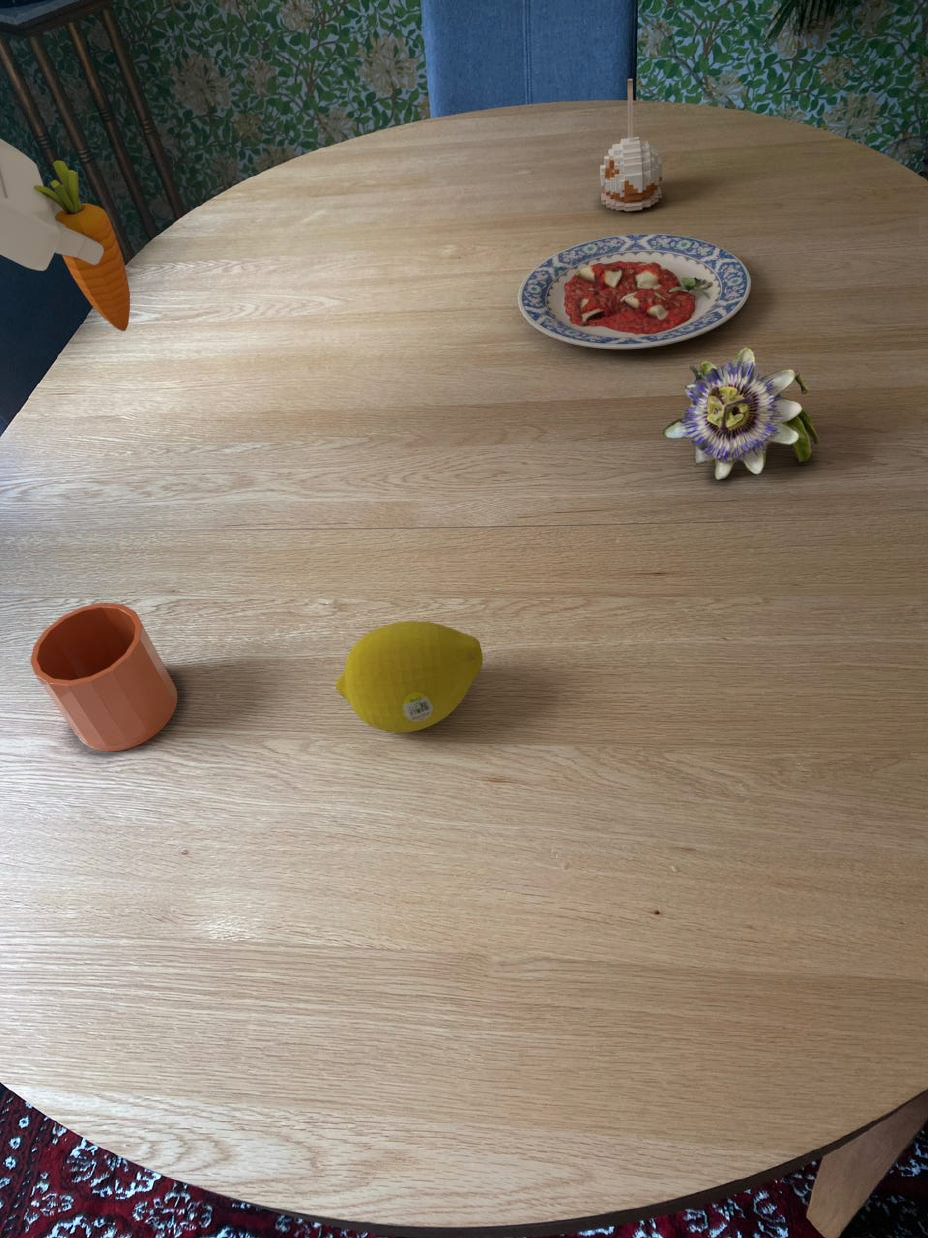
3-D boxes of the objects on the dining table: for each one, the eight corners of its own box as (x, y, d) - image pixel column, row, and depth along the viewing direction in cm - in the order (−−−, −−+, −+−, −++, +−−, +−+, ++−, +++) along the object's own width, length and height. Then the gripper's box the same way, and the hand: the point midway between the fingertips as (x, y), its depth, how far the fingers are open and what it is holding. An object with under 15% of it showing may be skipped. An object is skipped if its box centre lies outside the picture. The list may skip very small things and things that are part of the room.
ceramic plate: (493, 359, 107) (490, 334, 105) (548, 249, 124) (547, 226, 122) (735, 371, 100) (737, 344, 98) (760, 252, 116) (762, 227, 114)
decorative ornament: (599, 192, 133) (596, 72, 123) (657, 186, 132) (659, 64, 122) (603, 217, 128) (599, 94, 117) (664, 211, 127) (665, 86, 116)
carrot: (131, 345, 89) (62, 178, 79) (87, 342, 91) (13, 178, 80) (160, 318, 92) (97, 153, 82) (116, 315, 94) (49, 154, 83)
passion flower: (720, 521, 92) (644, 443, 86) (735, 436, 98) (664, 357, 92) (832, 484, 84) (757, 395, 78) (842, 394, 90) (772, 304, 84)
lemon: (343, 758, 72) (318, 688, 66) (352, 677, 77) (329, 606, 72) (490, 746, 71) (477, 674, 65) (489, 665, 76) (476, 592, 71)
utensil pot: (69, 761, 75) (22, 694, 69) (82, 682, 81) (40, 614, 75) (174, 740, 75) (136, 672, 70) (180, 662, 81) (145, 593, 75)
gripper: (-58, 157, 69) (130, 251, 78) (-66, 88, 83) (93, 173, 92) (-89, 238, 71) (97, 320, 80) (-93, 157, 85) (66, 234, 94)
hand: (94, 241), depth 86 cm, fingers closed on carrot, 5 cm apart
